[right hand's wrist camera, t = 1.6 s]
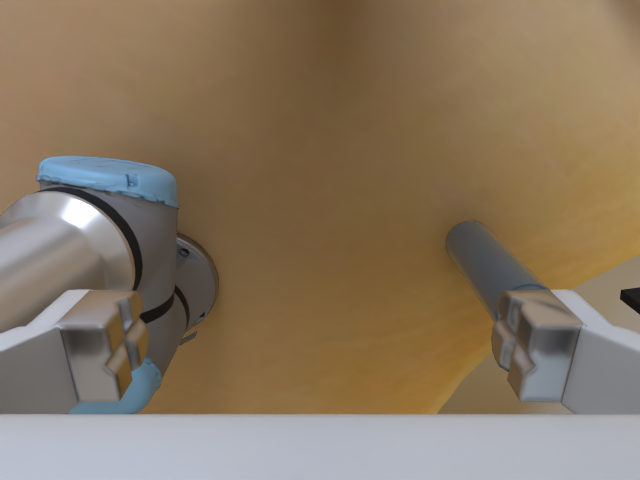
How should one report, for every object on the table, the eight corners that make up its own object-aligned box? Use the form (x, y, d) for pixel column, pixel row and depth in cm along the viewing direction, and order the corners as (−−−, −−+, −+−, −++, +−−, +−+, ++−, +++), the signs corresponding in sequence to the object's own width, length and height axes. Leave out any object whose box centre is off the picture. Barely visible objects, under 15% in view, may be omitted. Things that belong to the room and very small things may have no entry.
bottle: (447, 221, 60) (520, 313, 38) (493, 220, 60) (593, 311, 38) (444, 263, 62) (511, 372, 40) (488, 261, 62) (580, 370, 40)
